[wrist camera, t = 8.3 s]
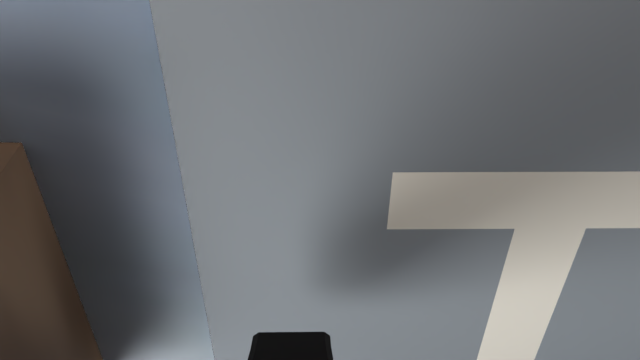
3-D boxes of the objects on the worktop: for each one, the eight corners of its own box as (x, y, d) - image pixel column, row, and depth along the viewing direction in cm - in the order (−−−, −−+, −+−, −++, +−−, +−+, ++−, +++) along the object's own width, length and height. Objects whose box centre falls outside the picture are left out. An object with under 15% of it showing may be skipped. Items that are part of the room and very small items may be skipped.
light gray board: (710, 441, 17) (714, 448, 17) (232, 446, 17) (231, 453, 17) (1119, -48, 8) (1136, -43, 8) (144, -49, 8) (141, -44, 8)
